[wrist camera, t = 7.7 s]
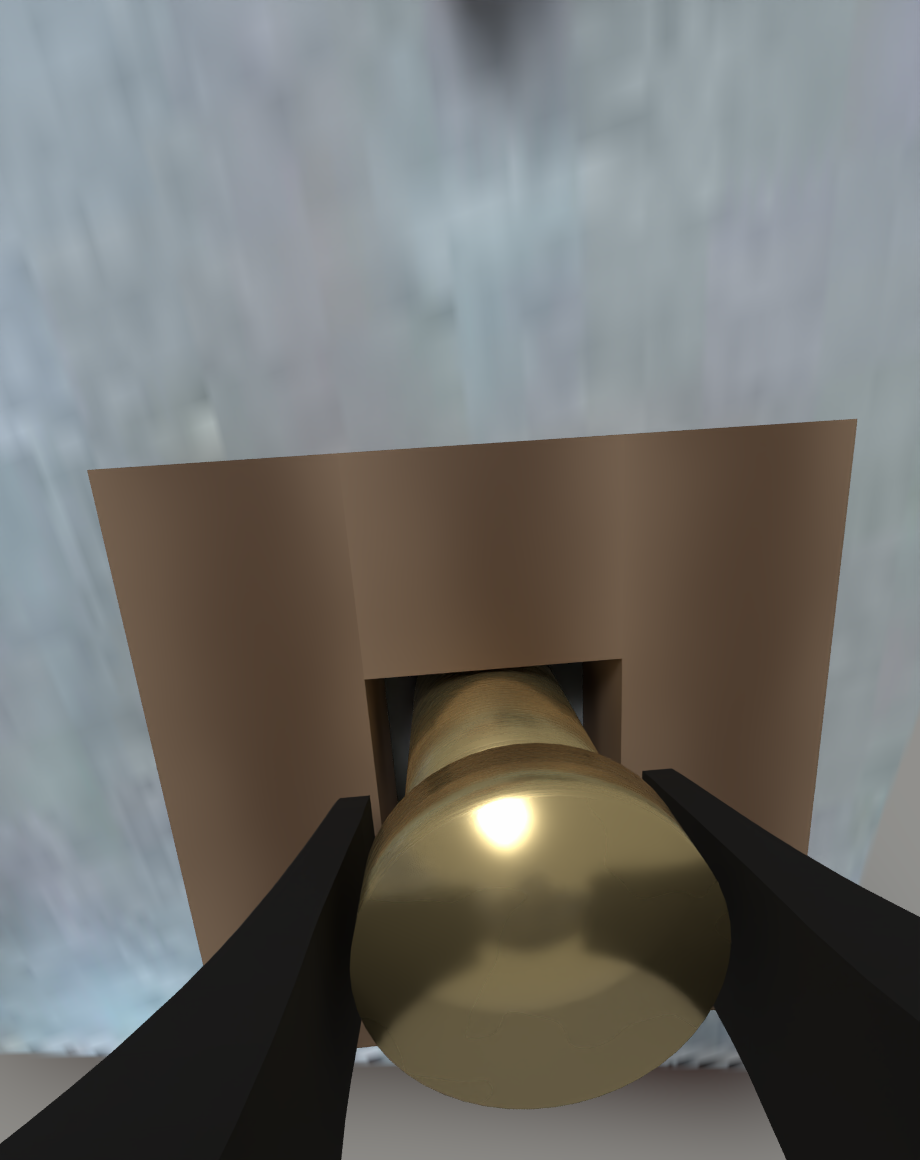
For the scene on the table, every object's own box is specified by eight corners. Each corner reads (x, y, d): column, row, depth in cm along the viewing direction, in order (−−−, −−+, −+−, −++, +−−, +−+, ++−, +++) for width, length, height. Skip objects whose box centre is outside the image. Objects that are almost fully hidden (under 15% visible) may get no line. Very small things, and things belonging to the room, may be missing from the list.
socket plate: (264, 951, 16) (225, 1062, 13) (169, 468, 12) (87, 470, 9) (726, 905, 16) (790, 1001, 13) (761, 428, 13) (857, 419, 10)
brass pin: (408, 782, 15) (377, 1131, 7) (386, 621, 14) (321, 822, 6) (574, 762, 15) (727, 1083, 7) (566, 602, 14) (735, 773, 6)
